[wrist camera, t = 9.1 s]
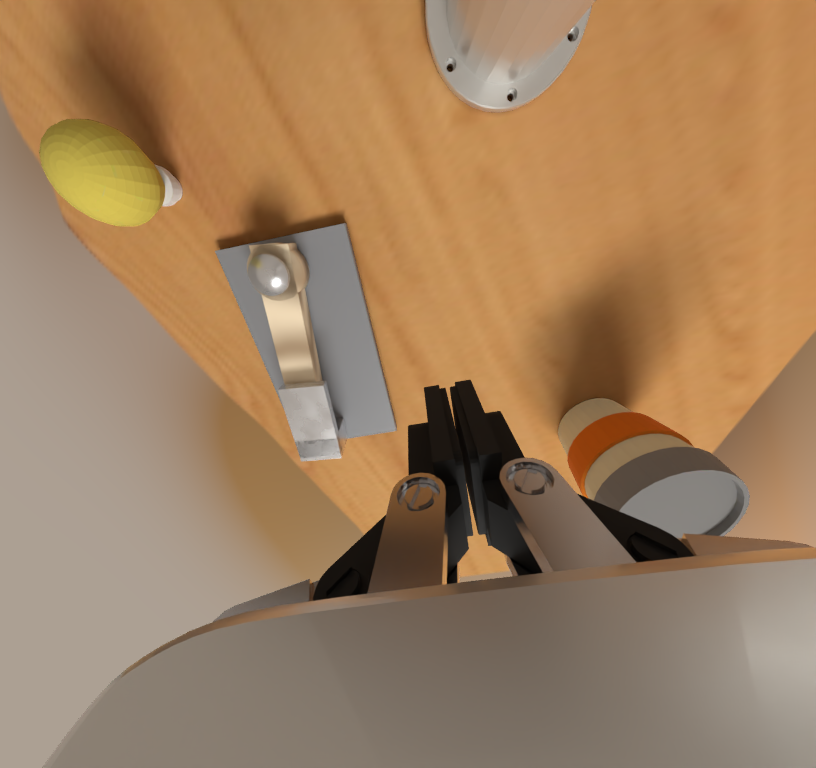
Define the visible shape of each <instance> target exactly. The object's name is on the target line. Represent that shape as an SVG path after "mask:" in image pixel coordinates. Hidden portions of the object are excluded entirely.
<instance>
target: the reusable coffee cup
mask: <svg viewBox="0 0 816 768" xmlns="http://www.w3.org/2000/svg"><path fill="white" fill-rule="evenodd" d="M558 436H559V440H560V442H561V444H562V446H563V448H564V450H565V452H566V454H567V456H568V464H569V468H570V470H571V472H572V474H573V476H574V478H575V480H576V482H577V484H578V486H579V488H580V490H581V493H582V495H583V496H584V497H586V498H589V499H591V500H593V501H596V502H598V503H601V504H603V505H605V506H608V507H610V508H613V509H615V510H617V511H620V512H622V513H625V514H627V515H629V516H632V517H634V518H637V519H639V520H641V521H644V522H646V523H649V524H651V525H653V526H656V527H658V528H660V529H662V530H664V531H666V532H668V533H670V534H672V535H673V536H674V537H676V538H682V536H683V533H685V534H698V535H712V536H724V535H725V534H727V533H728V532H729V531H731V530H732V529H733V528H734V527H735V526H736V524H738V523H739V521H740V520H741V519H742V517H743V516H744V514H745V512H746V510H747V507H748V505H749V498H750V495H749V492H748V488H747V486H746V485H745V484H744V482H743V481H742V480H741V479H740V478H739V477H737V476H736V475H735V474H734V473H733V472H732V471H731V470H730V469H729V468H728V467H727V466H725V465H724V464H723V463H722V462H721V461H720V460H719V459H718V458H717V457H715V456H714V455H712V454H711V453H710V452H707V451H704V450H702V449H699V448H694V447H693V445H692V444H691V443H690V441H689V440H688V439H686V438H685V437H683V436H682V435H680V434H678V433H677V432H675V431H673V430H671V429H670V428H668V427H666V426H664V425H663V424H661V423H659V422H657V421H655V420H654V419H652V418H650V417H648V416H646V415H643V414H641V413H635V412H632V411H631V410H629V409H627V408H626V407H624V406H622V405H620V404H619V403H617V402H615V401H613V400H610V399H606V398H595V399H589V400H586V401H583V402H581V403H579V404H577V405H576V406H574V407H573V408H571V409H570V410H569V411H568V412H567V413H566V414H565V415H564V417H563V418H562V420H561V422H560V424H559V428H558Z"/></svg>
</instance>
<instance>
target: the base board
mask: <svg viewBox="0 0 816 768" xmlns="http://www.w3.org/2000/svg"><path fill="white" fill-rule="evenodd" d="M277 242H280V243H296V244H297V249H298V250H299V251H300V252H301V254H302V255H303V256H304V258H305V259H306V261H307V264H308V267H309V272H310V276H309V281H308V284H307V286H306V288H305V291H306V296H307V302H308V307H309V312H310V317H311V323H312V328H313V333H314V338H315V343H316V349H317V354H318V359H319V364H320V370H321V375H322V380H323V381H326V383H327V387H328V391H329V395H330V399H331V403H332V407H333V411H334V415H335V418H344V422H345V426H346V431H347V435H348V437H347V439H348V438H354V437H360V436H367V435H373V434H379V433H386V432H392V431H396V430H397V426H396V422H395V418H394V414H393V410H392V406H391V402H390V398H389V393H388V389H387V385H386V381H385V377H384V373H383V369H382V365H381V361H380V357H379V353H378V349H377V345H376V341H375V337H374V333H373V329H372V325H371V321H370V317H369V313H368V308H367V304H366V300H365V296H364V292H363V288H362V284H361V280H360V276H359V272H358V268H357V264H356V260H355V256H354V252H353V248H352V244H351V240H350V236H349V232H348V228H347V223H343V224H339V225H334V226H329V227H325V228H320V229H315V230H311V231H306V232H301V233H297V234H292V235H287V236H283V237H278V238H274V239H269V240H264V241H260V242H255V243H250V244H246V245H241V246H236V247H232V248H227V249H223V250H218V251H215V252H216V255H217V257H218V259H219V261H220V264H221V266H222V268H223V271H224V273H225V275H226V277H227V280H228V282H229V284H230V287H231V289H232V291H233V293H234V296H235V298H236V300H237V303H238V305H239V307H240V309H241V312H242V314H243V316H244V319H245V321H246V323H247V325H248V328H249V330H250V332H251V335H252V337H253V339H254V341H255V344H256V346H257V348H258V351H259V353H260V355H261V358H262V360H263V362H264V364H265V367H266V369H267V371H268V374H269V376H270V378H271V380H272V383H273V385H274V387H275V390H276V392H277V394H278V396H279V399H280V401H281V398H280V395H279V392H278V389H279V388H280V386H281V385H284V381H283V377H282V373H281V369H280V365H279V361H278V357H277V353H276V349H275V346H274V342H273V338H272V334H271V330H270V326H269V322H268V318H267V314H266V310H265V307H264V303H263V299H262V295H261V294H260V293H259V292H258V291H257V290H256V289H255V288H254V286H253V285H252V283H251V282H250V280H249V277H248V273H247V261H248V258H249V255H250V253H251V252H250V248H249V246H250V245H260V244H268V243H277ZM281 403H282V401H281ZM282 406H283V404H282ZM283 408H284V407H283Z"/></svg>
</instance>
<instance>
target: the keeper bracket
mask: <svg viewBox="0 0 816 768" xmlns="http://www.w3.org/2000/svg"><path fill="white" fill-rule="evenodd" d="M278 392H279V395H280V398H281V401H282V404H283V407H284V410H285V413H286V416H287V419H288V422H289V425H290V428H291V431H292V434H293V437H294V440H295V443H296V446H297V449H298V452H299V455H300V458H301V461H312V460H324V459H336V458H342V455H343V451H344V448H345V444H346V441H347V437H348V435H347V431H346V426H345V422H344V418H335V415H334V411H333V407H332V403H331V399H330V395H329V391H328V387H327V383H326V381H317V382H307V383H296V384H285V385H281V386H280V388H279V389H278Z"/></svg>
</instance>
